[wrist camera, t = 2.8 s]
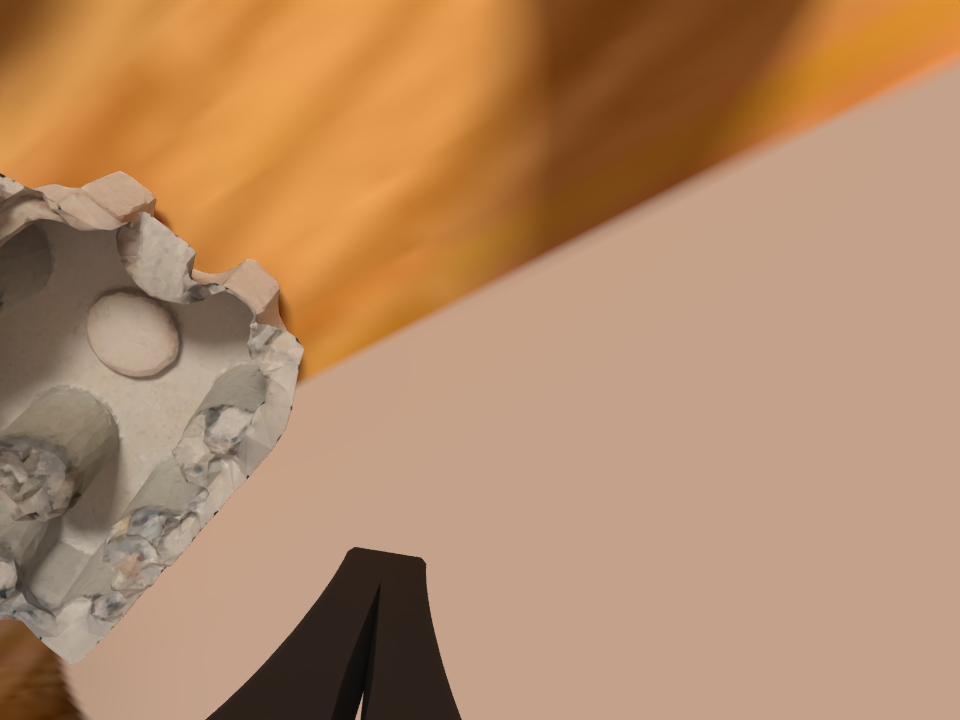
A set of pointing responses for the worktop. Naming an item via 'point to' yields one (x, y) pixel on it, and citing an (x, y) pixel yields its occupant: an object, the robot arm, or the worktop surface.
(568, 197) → the worktop surface
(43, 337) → the egg carton
